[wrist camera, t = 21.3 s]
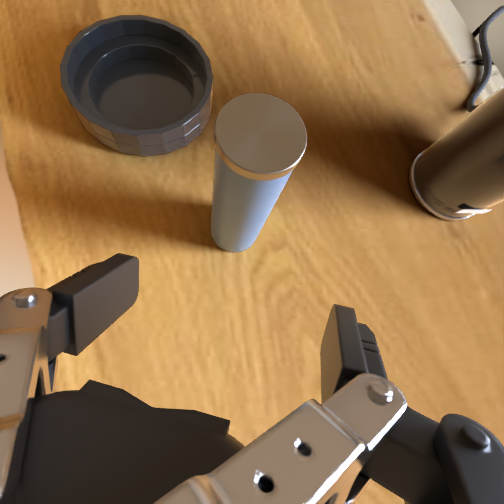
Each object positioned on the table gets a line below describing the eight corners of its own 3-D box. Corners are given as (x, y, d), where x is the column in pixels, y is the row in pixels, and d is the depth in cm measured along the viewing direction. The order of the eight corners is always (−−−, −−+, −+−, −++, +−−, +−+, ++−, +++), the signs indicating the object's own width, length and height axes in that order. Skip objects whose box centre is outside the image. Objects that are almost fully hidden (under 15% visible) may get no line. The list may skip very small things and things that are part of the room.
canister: (233, 198, 32) (258, 76, 17) (268, 229, 32) (325, 134, 17) (199, 229, 31) (194, 127, 16) (235, 263, 31) (266, 192, 15)
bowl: (149, 29, 36) (143, -6, 33) (237, 106, 35) (241, 79, 32) (47, 94, 32) (26, 62, 29) (143, 184, 31) (134, 163, 28)
